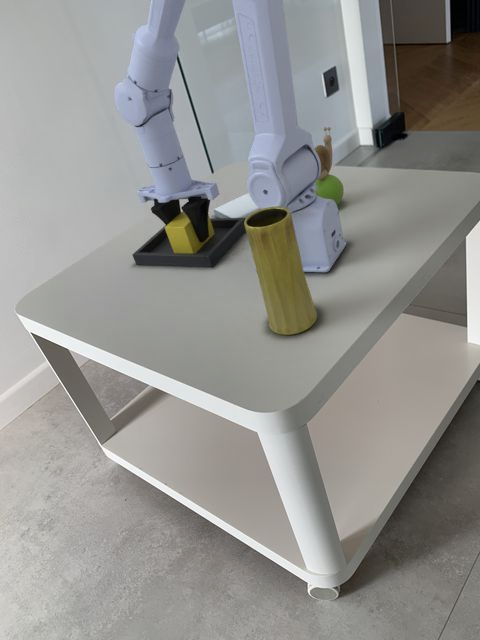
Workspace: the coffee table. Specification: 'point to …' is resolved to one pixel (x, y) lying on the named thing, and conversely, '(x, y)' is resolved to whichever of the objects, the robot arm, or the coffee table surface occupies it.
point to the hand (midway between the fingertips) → (193, 239)
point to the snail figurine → (327, 173)
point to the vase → (280, 270)
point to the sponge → (185, 234)
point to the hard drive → (237, 208)
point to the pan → (207, 256)
